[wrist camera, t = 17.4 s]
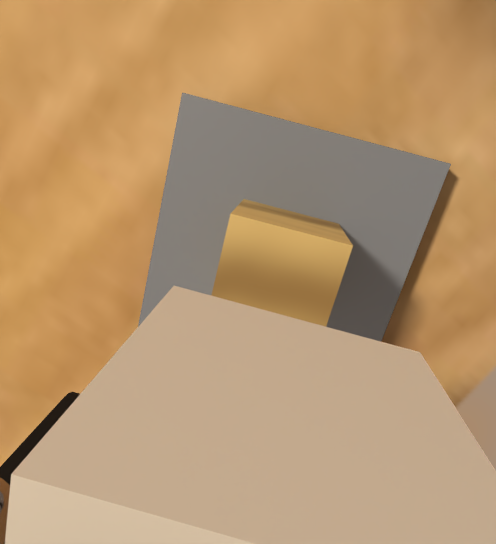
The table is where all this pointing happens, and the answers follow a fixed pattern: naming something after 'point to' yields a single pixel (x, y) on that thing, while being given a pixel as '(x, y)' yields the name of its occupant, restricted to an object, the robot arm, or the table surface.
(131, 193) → the table surface
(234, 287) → the mustard block
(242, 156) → the plate
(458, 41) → the table surface
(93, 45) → the table surface
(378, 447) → the cream block
